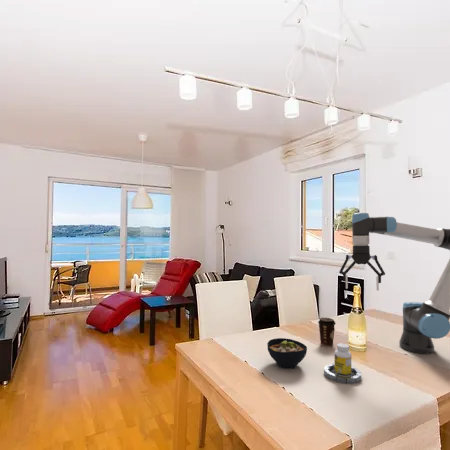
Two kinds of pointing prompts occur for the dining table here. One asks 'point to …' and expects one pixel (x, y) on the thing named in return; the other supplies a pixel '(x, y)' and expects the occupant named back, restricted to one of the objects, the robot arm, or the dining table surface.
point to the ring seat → (351, 379)
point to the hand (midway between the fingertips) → (361, 289)
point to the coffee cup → (326, 331)
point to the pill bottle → (342, 360)
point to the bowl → (286, 352)
